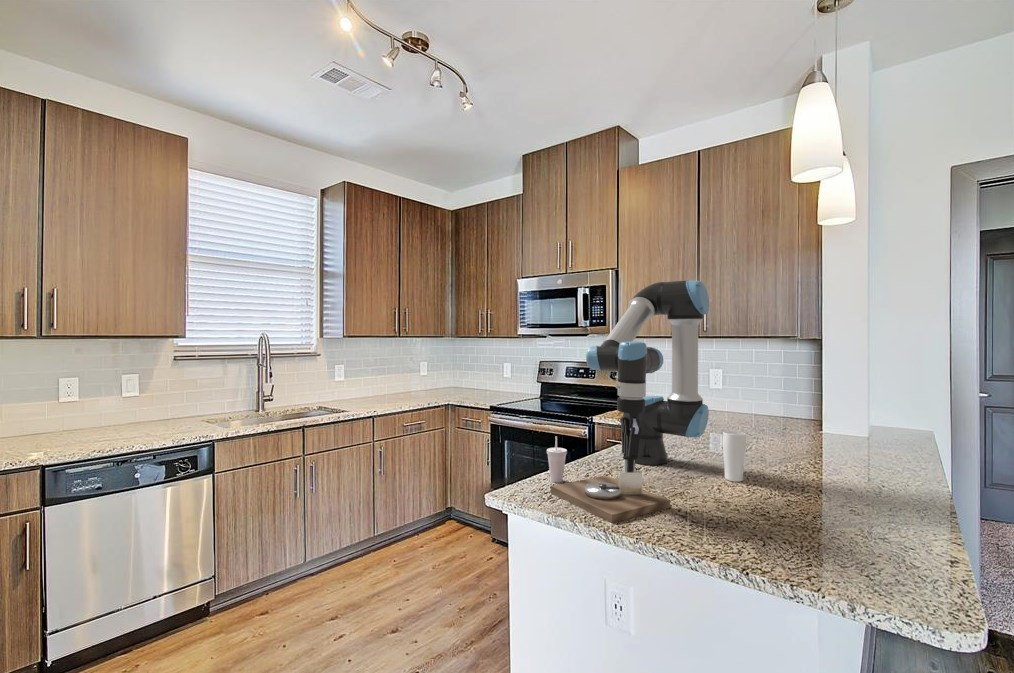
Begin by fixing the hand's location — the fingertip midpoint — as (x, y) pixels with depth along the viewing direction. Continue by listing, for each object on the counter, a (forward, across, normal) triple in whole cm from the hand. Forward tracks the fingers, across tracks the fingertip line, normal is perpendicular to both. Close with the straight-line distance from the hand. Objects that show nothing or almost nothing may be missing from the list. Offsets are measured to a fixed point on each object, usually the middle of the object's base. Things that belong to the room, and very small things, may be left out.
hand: (628, 481), depth 133 cm
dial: (+3, +1, -5) cm, 6 cm away
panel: (+5, 0, -6) cm, 8 cm away
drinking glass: (+5, -18, +39) cm, 43 cm away
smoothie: (+6, -17, -18) cm, 25 cm away
